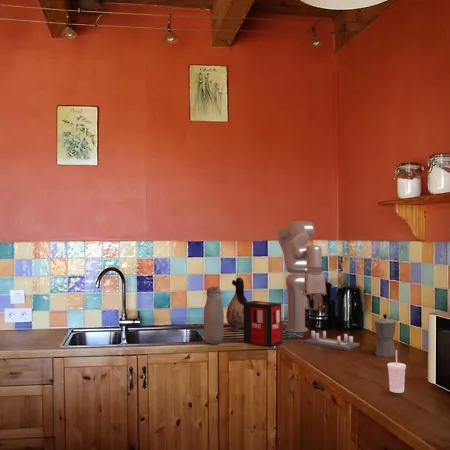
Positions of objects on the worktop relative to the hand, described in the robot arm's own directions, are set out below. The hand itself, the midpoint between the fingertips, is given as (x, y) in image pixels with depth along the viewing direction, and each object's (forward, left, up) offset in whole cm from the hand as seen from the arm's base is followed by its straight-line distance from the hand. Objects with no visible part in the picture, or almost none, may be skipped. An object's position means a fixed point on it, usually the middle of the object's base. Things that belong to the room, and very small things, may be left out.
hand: (314, 307), depth 255 cm
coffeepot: (+37, 0, -18) cm, 41 cm away
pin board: (+8, +2, -17) cm, 19 cm away
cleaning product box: (-19, -18, -18) cm, 32 cm away
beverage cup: (+63, -47, -18) cm, 81 cm away
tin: (0, 0, -1) cm, 2 cm away
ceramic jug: (-49, 0, -18) cm, 52 cm away
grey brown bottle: (-37, -34, -18) cm, 53 cm away
